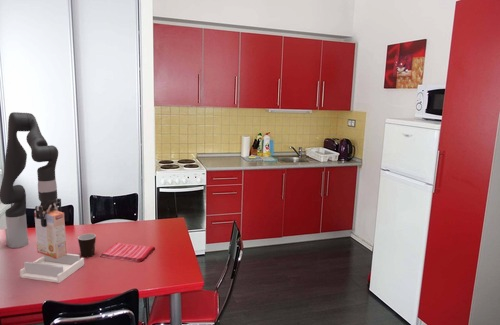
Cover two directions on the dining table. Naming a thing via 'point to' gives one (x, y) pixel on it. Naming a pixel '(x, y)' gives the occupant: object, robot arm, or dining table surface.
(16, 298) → the dining table surface
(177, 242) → the dining table surface
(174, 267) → the dining table surface
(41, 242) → the cracker box
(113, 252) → the dish towel
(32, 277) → the white shallow tray
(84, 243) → the coffee mug
